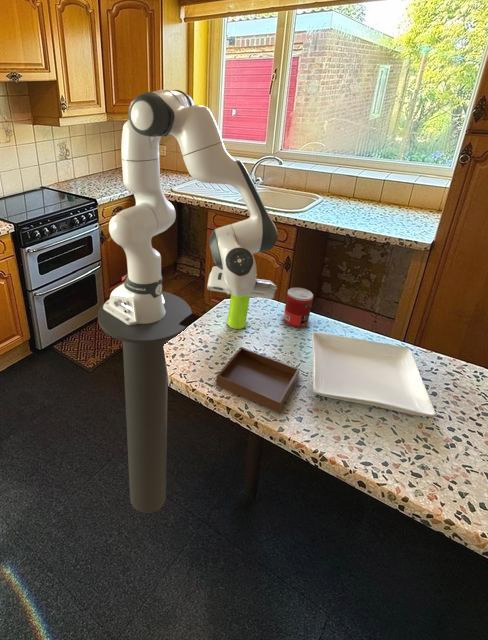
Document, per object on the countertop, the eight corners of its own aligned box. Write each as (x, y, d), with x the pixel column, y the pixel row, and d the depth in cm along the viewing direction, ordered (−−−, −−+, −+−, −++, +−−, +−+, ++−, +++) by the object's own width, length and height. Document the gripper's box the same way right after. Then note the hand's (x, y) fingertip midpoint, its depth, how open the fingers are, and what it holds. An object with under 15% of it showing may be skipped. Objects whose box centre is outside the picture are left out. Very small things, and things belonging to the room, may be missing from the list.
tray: (215, 385, 106) (216, 375, 105) (239, 355, 117) (240, 346, 116) (278, 413, 97) (280, 403, 96) (298, 378, 108) (300, 369, 107)
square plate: (309, 340, 124) (311, 330, 122) (407, 357, 117) (411, 346, 115) (310, 401, 101) (313, 389, 99) (433, 427, 93) (438, 415, 92)
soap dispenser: (242, 332, 128) (252, 277, 119) (224, 324, 131) (231, 270, 122) (250, 324, 132) (260, 270, 123) (232, 317, 135) (240, 264, 126)
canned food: (305, 330, 129) (310, 301, 124) (280, 323, 132) (285, 295, 127) (309, 319, 135) (315, 291, 130) (286, 313, 138) (290, 285, 133)
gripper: (278, 274, 113) (275, 289, 125) (207, 265, 118) (211, 280, 131) (276, 296, 111) (273, 308, 124) (203, 285, 116) (208, 298, 129)
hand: (240, 293), depth 127 cm, fingers closed on soap dispenser, 6 cm apart
